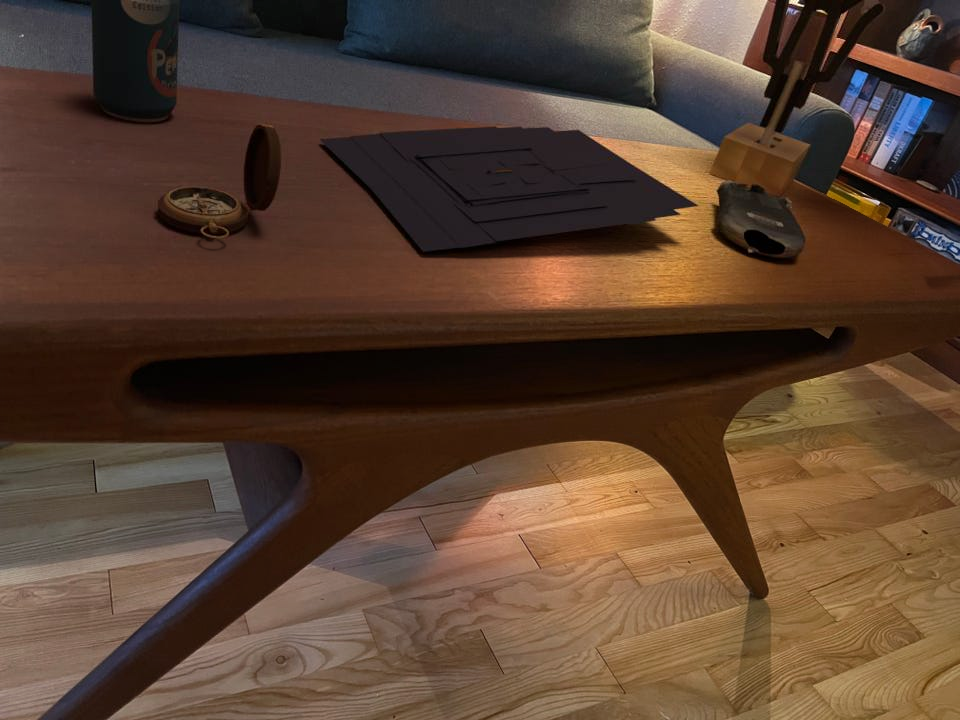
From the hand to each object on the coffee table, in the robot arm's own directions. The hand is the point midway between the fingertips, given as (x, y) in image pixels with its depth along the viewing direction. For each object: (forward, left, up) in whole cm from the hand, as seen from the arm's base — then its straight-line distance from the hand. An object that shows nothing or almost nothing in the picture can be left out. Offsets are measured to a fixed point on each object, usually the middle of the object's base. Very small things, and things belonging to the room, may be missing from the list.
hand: (771, 128), depth 101 cm
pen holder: (0, -3, -7) cm, 8 cm away
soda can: (+47, +59, -7) cm, 76 cm away
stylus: (0, 0, -6) cm, 6 cm away
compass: (+26, +70, -7) cm, 75 cm away
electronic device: (-5, +23, -7) cm, 25 cm away
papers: (+16, +42, -7) cm, 46 cm away
